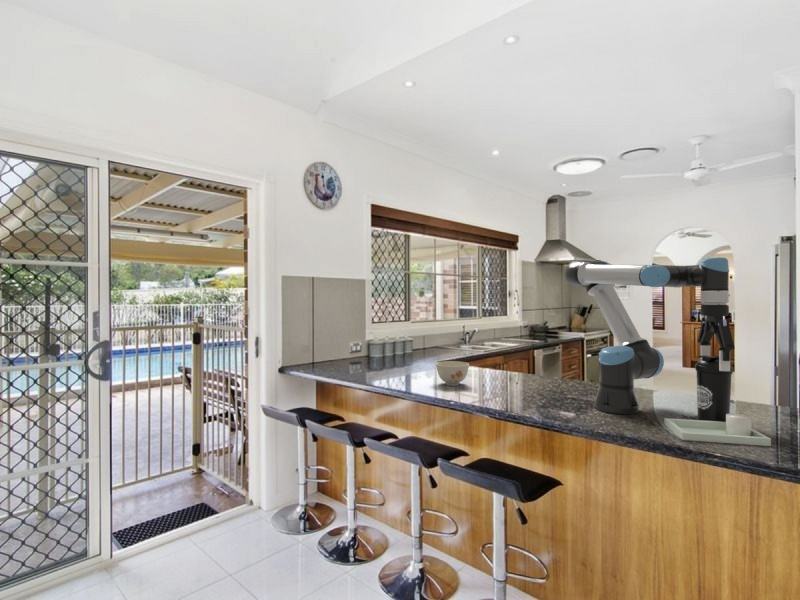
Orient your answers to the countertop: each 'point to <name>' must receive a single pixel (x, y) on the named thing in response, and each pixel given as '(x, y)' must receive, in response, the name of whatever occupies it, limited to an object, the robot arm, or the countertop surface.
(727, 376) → the water bottle
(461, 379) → the bowl
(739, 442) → the tray
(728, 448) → the countertop surface
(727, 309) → the robot arm
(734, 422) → the white domed cylinder
